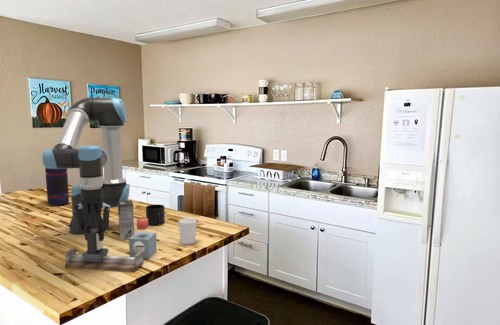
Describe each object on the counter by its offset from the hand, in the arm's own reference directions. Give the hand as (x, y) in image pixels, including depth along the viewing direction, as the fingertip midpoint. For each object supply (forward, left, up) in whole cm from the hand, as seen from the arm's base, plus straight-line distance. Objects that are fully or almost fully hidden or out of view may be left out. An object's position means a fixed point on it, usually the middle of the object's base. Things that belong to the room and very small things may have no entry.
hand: (95, 248), depth 129 cm
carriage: (0, 0, -5) cm, 5 cm away
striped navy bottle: (-73, +81, -7) cm, 109 cm away
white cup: (+28, +28, -7) cm, 40 cm away
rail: (+4, 0, -7) cm, 7 cm away
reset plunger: (+14, +12, +4) cm, 19 cm away
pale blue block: (+14, +12, -7) cm, 19 cm away
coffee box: (-3, +32, -7) cm, 33 cm away
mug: (+4, +51, -7) cm, 52 cm away
